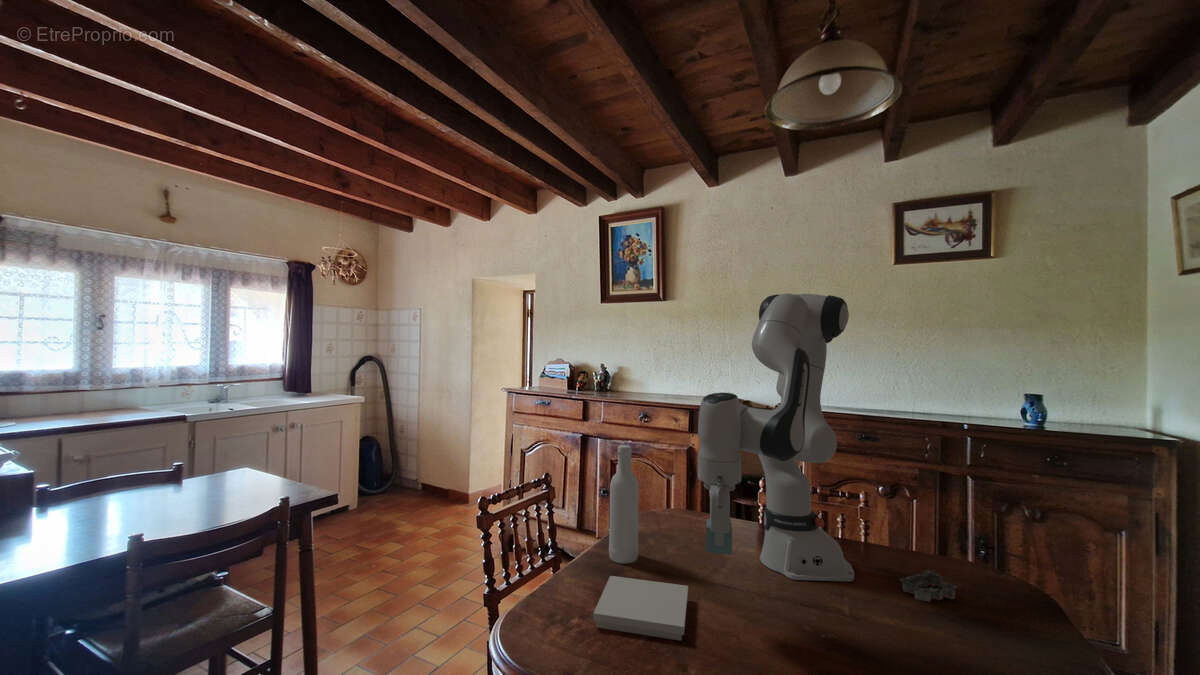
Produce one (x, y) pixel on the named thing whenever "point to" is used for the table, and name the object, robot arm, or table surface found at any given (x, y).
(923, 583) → the grey jagged ring
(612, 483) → the bottle
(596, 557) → the table surface
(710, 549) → the teal block
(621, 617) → the cream wooden base
